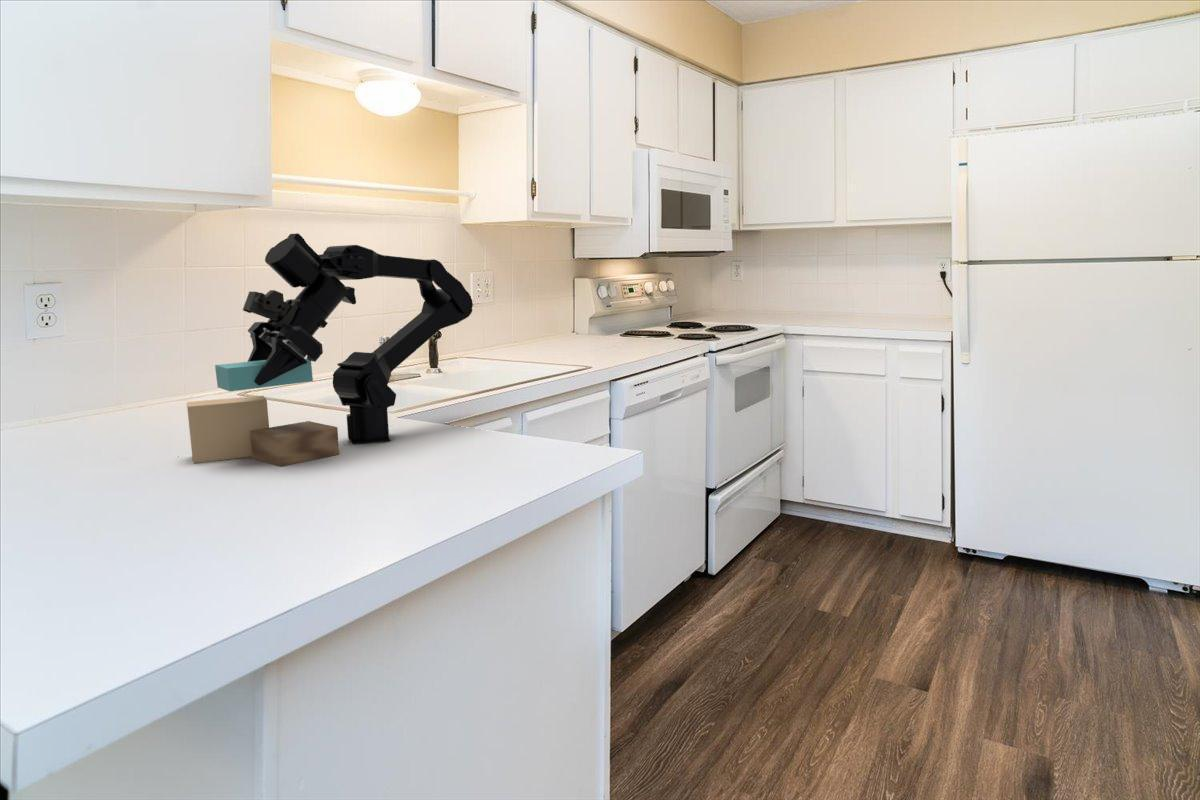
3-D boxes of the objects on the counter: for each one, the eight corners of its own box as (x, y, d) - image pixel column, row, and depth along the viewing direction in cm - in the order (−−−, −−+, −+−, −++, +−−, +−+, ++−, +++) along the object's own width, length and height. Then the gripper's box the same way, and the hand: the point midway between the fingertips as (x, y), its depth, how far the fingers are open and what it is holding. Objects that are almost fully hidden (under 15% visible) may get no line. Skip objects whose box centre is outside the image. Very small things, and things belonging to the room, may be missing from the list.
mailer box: (267, 448, 133) (262, 395, 132) (271, 454, 129) (266, 399, 127) (192, 456, 128) (186, 402, 127) (193, 463, 123) (187, 406, 122)
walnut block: (310, 447, 134) (308, 421, 133) (339, 454, 128) (337, 427, 127) (252, 458, 126) (250, 430, 125) (280, 466, 120) (278, 437, 120)
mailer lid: (298, 377, 131) (296, 356, 131) (312, 381, 126) (310, 359, 126) (217, 387, 123) (214, 365, 123) (229, 391, 118) (227, 368, 118)
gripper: (254, 273, 131) (190, 345, 126) (294, 271, 117) (223, 353, 111) (306, 317, 137) (247, 387, 132) (350, 321, 123) (285, 400, 118)
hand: (249, 381), depth 123 cm, fingers closed on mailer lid, 7 cm apart
